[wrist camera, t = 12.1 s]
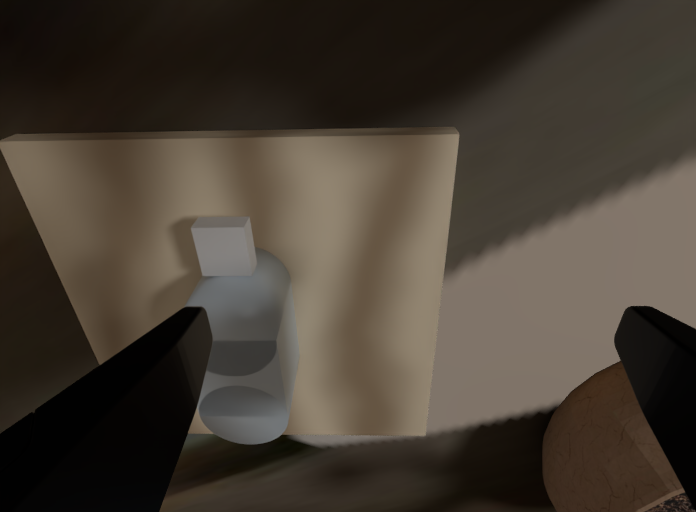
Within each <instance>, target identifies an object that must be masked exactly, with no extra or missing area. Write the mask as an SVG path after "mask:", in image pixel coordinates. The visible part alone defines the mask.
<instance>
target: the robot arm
mask: <svg viewBox="0 0 696 512" xmlns="http://www.w3.org/2000/svg"><path fill="white" fill-rule="evenodd" d="M212 343H213V336H212V331H211V327H210V323H209V319H208V316H207V312H206V310H205V308H204V307H202V306H186V307H184V308H182V309H180V310H179V311H177V312H176V313H175V314H173V315H172V316H170V317H169V318H167V319H166V320H164V321H163V322H162V323H160V324H159V325H157V326H156V327H154V328H153V329H151V330H150V331H149V332H147V333H146V334H144V335H143V336H141V337H140V338H138V339H137V340H135V341H134V342H133V343H131V344H130V345H128V346H127V347H125V348H124V349H122V350H121V351H120V352H118V353H117V354H115V355H114V356H112V357H111V358H109V359H108V360H107V361H105V362H104V363H102V364H101V365H99V366H98V367H96V368H95V369H93V370H92V371H91V372H89V373H88V374H86V375H85V376H83V377H82V378H80V379H79V380H78V381H76V382H75V383H73V384H72V385H70V386H69V387H67V388H66V389H64V390H63V391H62V392H60V393H59V394H57V395H56V396H54V397H53V398H51V399H50V400H48V401H47V402H46V403H44V404H43V405H41V406H40V407H38V408H37V409H36V410H35V413H34V412H31V413H29V414H28V415H27V416H25V417H24V418H22V419H21V420H19V421H18V422H16V423H15V424H14V425H12V426H11V427H9V428H8V429H6V430H5V431H3V432H2V433H0V512H159V510H160V508H161V505H162V502H163V500H164V497H165V494H166V491H167V489H168V486H169V483H170V481H171V478H172V475H173V472H174V470H175V467H176V464H177V461H178V459H179V456H180V453H181V451H182V448H183V445H184V442H185V440H186V437H187V434H188V431H189V429H190V426H191V423H192V421H193V418H194V415H195V412H196V409H197V405H198V402H199V398H200V394H201V390H202V386H203V381H204V377H205V373H206V369H207V365H208V361H209V356H210V352H211V348H212ZM614 343H615V347H616V350H617V352H618V355H619V357H620V359H621V362H622V365H623V367H624V369H625V372H626V374H627V377H628V379H629V382H630V384H631V387H632V389H633V391H634V394H635V396H636V399H637V401H638V403H639V406H640V408H641V410H642V412H643V414H644V416H645V418H646V420H647V422H648V424H649V426H650V428H651V430H652V432H653V433H654V435H655V437H656V439H657V441H658V443H659V445H660V446H661V448H662V450H663V452H664V454H665V456H666V458H667V459H668V461H669V463H670V465H671V467H672V469H673V471H674V472H675V474H676V476H677V478H678V480H679V482H680V484H681V485H682V487H683V489H684V491H685V493H686V495H687V497H688V498H689V500H690V502H691V504H692V506H693V508H694V510H695V511H696V329H695V328H692V327H691V326H688V325H687V324H685V323H682V322H680V321H679V320H677V319H675V318H673V317H671V316H669V315H667V314H665V313H663V312H660V311H659V310H657V309H655V308H653V307H650V306H631V307H628V308H627V309H626V310H625V311H624V314H623V316H622V319H621V321H620V324H619V326H618V329H617V331H616V334H615V338H614Z"/></svg>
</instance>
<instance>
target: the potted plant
mask: <svg viewBox="0 0 696 512" xmlns="http://www.w3.org/2000/svg"><path fill="white" fill-rule="evenodd" d="M542 454H543V480H544V485H545V488H546V491H547V493H548V496H549V498H550V500H551V502H552V504H553V506H554V508H555V509H556V511H557V512H696V511H695V510H694V508H693V506H692V504H691V502H690V500H689V498H688V497H687V495H686V493H685V491H684V489H683V487H682V485H681V484H680V482H679V480H678V478H677V476H676V474H675V472H674V471H673V469H672V467H671V465H670V463H669V461H668V459H667V458H666V456H665V454H664V452H663V450H662V448H661V446H660V445H659V443H658V441H657V439H656V437H655V435H654V433H653V432H652V430H651V428H650V426H649V424H648V422H647V420H646V418H645V416H644V414H643V412H642V410H641V408H640V406H639V403H638V401H637V399H636V396H635V394H634V391H633V389H632V387H631V384H630V382H629V379H628V377H627V374H626V372H625V369H624V367H623V365H622V362H621V361H620V362H617V363H615V364H613V365H611V366H609V367H607V368H605V369H603V370H601V371H599V372H597V373H595V374H594V375H593V376H591V377H590V378H589V379H587V380H586V381H585V382H583V383H582V384H581V385H579V386H578V387H577V388H575V389H574V390H573V391H572V392H571V393H570V394H569V395H568V396H567V397H566V398H565V400H564V401H563V402H562V403H561V404H560V405H559V407H558V408H557V409H556V410H555V412H554V413H553V415H552V417H551V420H550V422H549V424H548V427H547V429H546V431H545V434H544V438H543V453H542Z"/></svg>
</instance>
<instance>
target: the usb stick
mask: <svg viewBox="0 0 696 512" xmlns="http://www.w3.org/2000/svg"><path fill="white" fill-rule="evenodd" d="M191 231H192V235H193V239H194V243H195V247H196V251H197V255H198V259H199V263H200V267H201V271H202V277H201V278H200V280H199V282H198V284H197V285H196V287H195V289H194V291H193V292H192V294H191V296H190V298H189V299H188V301H187V303H186V305H185V306H184V307H186V306H202V307H204V308H205V310H206V312H207V316H208V319H209V323H210V327H211V331H212V336H213V343H212V348H211V352H210V356H209V361H208V365H207V369H206V373H205V377H204V381H203V386H202V390H201V394H200V398H199V402H198V405H197V409H198V412H199V415H200V418H201V420H202V422H203V423H204V425H205V426H206V427H207V428H208V429H209V430H210V431H211V432H213V433H214V434H216V435H217V436H219V437H221V438H223V439H226V440H228V441H232V442H236V443H241V444H261V443H266V442H269V441H272V440H274V439H276V438H277V437H279V436H280V435H281V434H282V433H283V432H284V431H285V429H286V428H287V425H288V420H289V415H290V409H291V403H292V397H293V392H294V386H295V380H296V375H297V369H298V363H299V357H300V353H299V344H298V336H297V327H296V319H295V310H294V302H293V293H292V285H291V279H290V275H289V272H288V271H287V269H286V267H285V266H284V264H283V263H282V262H281V261H280V260H279V259H278V258H277V257H276V256H274V255H273V254H271V253H269V252H268V251H266V250H263V249H261V248H257V247H254V241H253V235H252V229H251V223H250V217H249V216H246V217H198V219H197V220H196V221H195V223H194V224H193V225H192V227H191Z"/></svg>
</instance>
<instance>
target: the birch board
mask: <svg viewBox="0 0 696 512" xmlns="http://www.w3.org/2000/svg"><path fill="white" fill-rule="evenodd" d="M458 143H459V133H458V131H457V130H456V129H455V127H408V128H348V129H288V130H228V131H168V132H108V133H48V134H15V135H13V136H10V137H7V138H5V139H2V140H0V149H1V151H2V153H3V156H4V158H5V160H6V162H7V164H8V167H9V169H10V171H11V173H12V175H13V177H14V180H15V182H16V184H17V186H18V188H19V191H20V193H21V195H22V197H23V199H24V201H25V204H26V206H27V208H28V210H29V212H30V214H31V217H32V219H33V221H34V223H35V225H36V228H37V230H38V232H39V234H40V236H41V238H42V241H43V243H44V245H45V247H46V249H47V252H48V254H49V256H50V258H51V260H52V262H53V265H54V267H55V269H56V271H57V273H58V276H59V278H60V280H61V282H62V284H63V286H64V289H65V291H66V293H67V295H68V297H69V299H70V302H71V304H72V306H73V308H74V310H75V313H76V315H77V317H78V319H79V321H80V323H81V326H82V328H83V330H84V332H85V334H86V337H87V339H88V341H89V343H90V345H91V347H92V350H93V352H94V354H95V356H96V358H97V361H98V363H99V365H101V364H102V363H104V362H105V361H107V360H108V359H109V358H111V357H112V356H114V355H115V354H117V353H118V352H120V351H121V350H122V349H124V348H125V347H127V346H128V345H130V344H131V343H133V342H134V341H135V340H137V339H138V338H140V337H141V336H143V335H144V334H146V333H147V332H149V331H150V330H151V329H153V328H154V327H156V326H157V325H159V324H160V323H162V322H163V321H164V320H166V319H167V318H169V317H170V316H172V315H173V314H175V313H176V312H177V311H179V310H180V309H182V308H184V306H185V305H186V303H187V301H188V299H189V298H190V296H191V294H192V292H193V291H194V289H195V287H196V285H197V284H198V282H199V280H200V278H201V277H202V271H201V267H200V263H199V259H198V255H197V251H196V247H195V243H194V239H193V235H192V231H191V227H192V225H193V224H194V223H195V221H196V220H197V219H198V217H246V216H249V217H250V223H251V229H252V235H253V241H254V247H257V248H261V249H263V250H266V251H268V252H269V253H271V254H273V255H274V256H276V257H277V258H278V259H279V260H280V261H281V262H282V263H283V264H284V266H285V267H286V269H287V271H288V272H289V275H290V279H291V285H292V293H293V302H294V310H295V319H296V327H297V336H298V344H299V353H300V357H299V363H298V369H297V375H296V380H295V386H294V392H293V397H292V403H291V409H290V415H289V420H288V425H287V428H286V429H285V431H284V432H283V433H282V434H290V435H383V436H426V427H427V418H428V409H429V400H430V392H431V383H432V374H433V364H434V356H435V347H436V338H437V329H438V321H439V311H440V303H441V293H442V285H443V276H444V267H445V258H446V250H447V241H448V232H449V223H450V214H451V205H452V196H453V187H454V178H455V170H456V161H457V152H458ZM188 433H196V434H214V433H213V432H211V431H210V430H209V429H208V428H207V427H206V426H205V425H204V423H203V422H202V420H201V418H200V415H199V412H198V409H196V412H195V415H194V418H193V421H192V423H191V426H190V429H189V431H188Z"/></svg>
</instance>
